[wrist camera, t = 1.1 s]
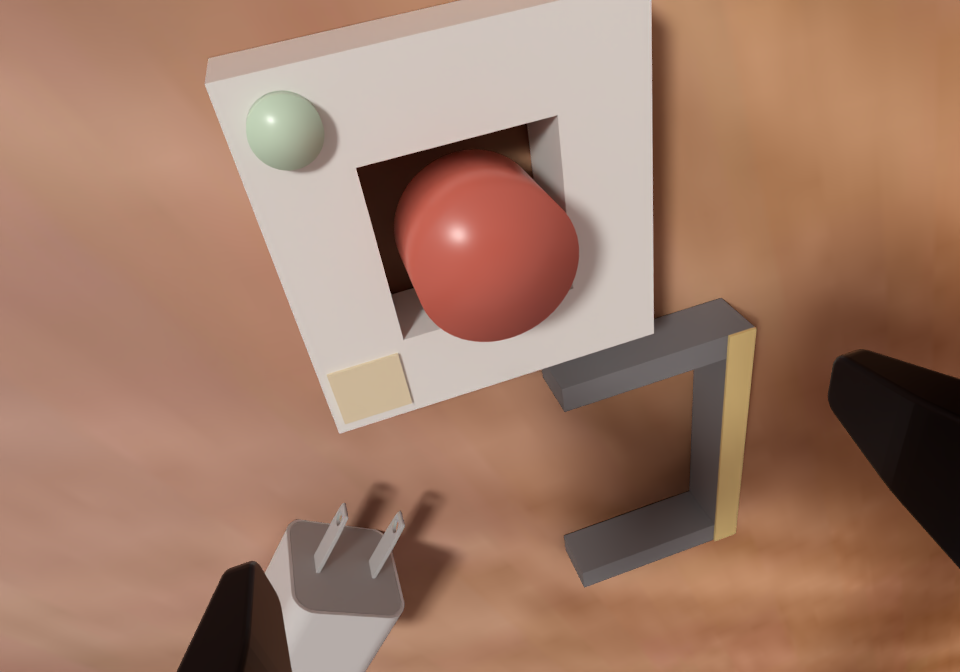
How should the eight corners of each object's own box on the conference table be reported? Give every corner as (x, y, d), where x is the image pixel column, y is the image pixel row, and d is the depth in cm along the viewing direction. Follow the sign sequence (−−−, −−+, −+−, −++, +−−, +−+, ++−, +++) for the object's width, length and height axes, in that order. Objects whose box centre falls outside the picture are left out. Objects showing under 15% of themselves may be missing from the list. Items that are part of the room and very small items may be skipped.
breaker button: (546, 267, 20) (584, 315, 17) (412, 307, 19) (434, 361, 17) (530, 131, 17) (572, 168, 15) (377, 172, 17) (398, 216, 15)
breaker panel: (617, 294, 23) (660, 340, 21) (329, 383, 22) (341, 442, 19) (603, -33, 17) (659, -20, 15) (208, 58, 16) (203, 88, 14)
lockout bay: (708, 498, 31) (735, 533, 29) (565, 549, 30) (585, 589, 28) (721, 297, 25) (756, 328, 23) (539, 355, 24) (563, 391, 22)
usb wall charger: (246, 597, 26) (247, 697, 23) (311, 462, 23) (323, 554, 20) (344, 604, 28) (358, 697, 25) (415, 480, 25) (441, 567, 22)
